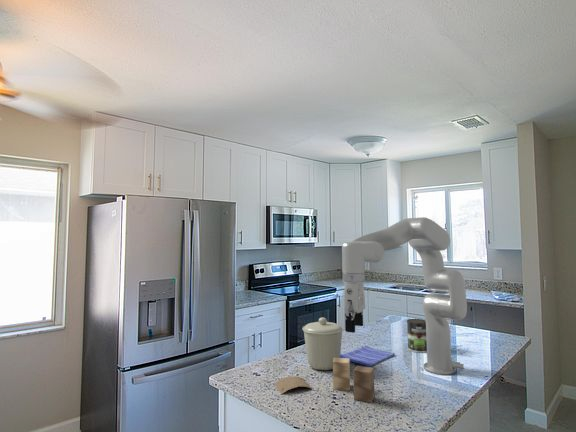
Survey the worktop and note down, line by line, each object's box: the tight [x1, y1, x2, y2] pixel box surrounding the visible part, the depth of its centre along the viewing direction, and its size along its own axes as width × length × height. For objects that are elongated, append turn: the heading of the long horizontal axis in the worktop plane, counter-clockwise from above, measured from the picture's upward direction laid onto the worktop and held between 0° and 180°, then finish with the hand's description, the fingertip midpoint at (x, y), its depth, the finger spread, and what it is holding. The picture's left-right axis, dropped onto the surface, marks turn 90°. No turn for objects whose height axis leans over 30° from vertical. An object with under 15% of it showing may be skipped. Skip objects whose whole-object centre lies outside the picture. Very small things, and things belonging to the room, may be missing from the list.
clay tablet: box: [273, 375, 313, 395], centre depth 137 cm, size 14×10×3 cm
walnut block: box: [352, 365, 376, 403], centre depth 126 cm, size 6×5×10 cm
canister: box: [302, 317, 345, 371], centre depth 159 cm, size 18×18×21 cm
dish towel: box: [340, 345, 396, 368], centre depth 169 cm, size 17×24×3 cm
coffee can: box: [406, 318, 427, 354], centre depth 180 cm, size 10×10×14 cm
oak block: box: [332, 358, 351, 392], centre depth 136 cm, size 6×5×10 cm
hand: (354, 328), depth 123 cm, fingers open, 9 cm apart
